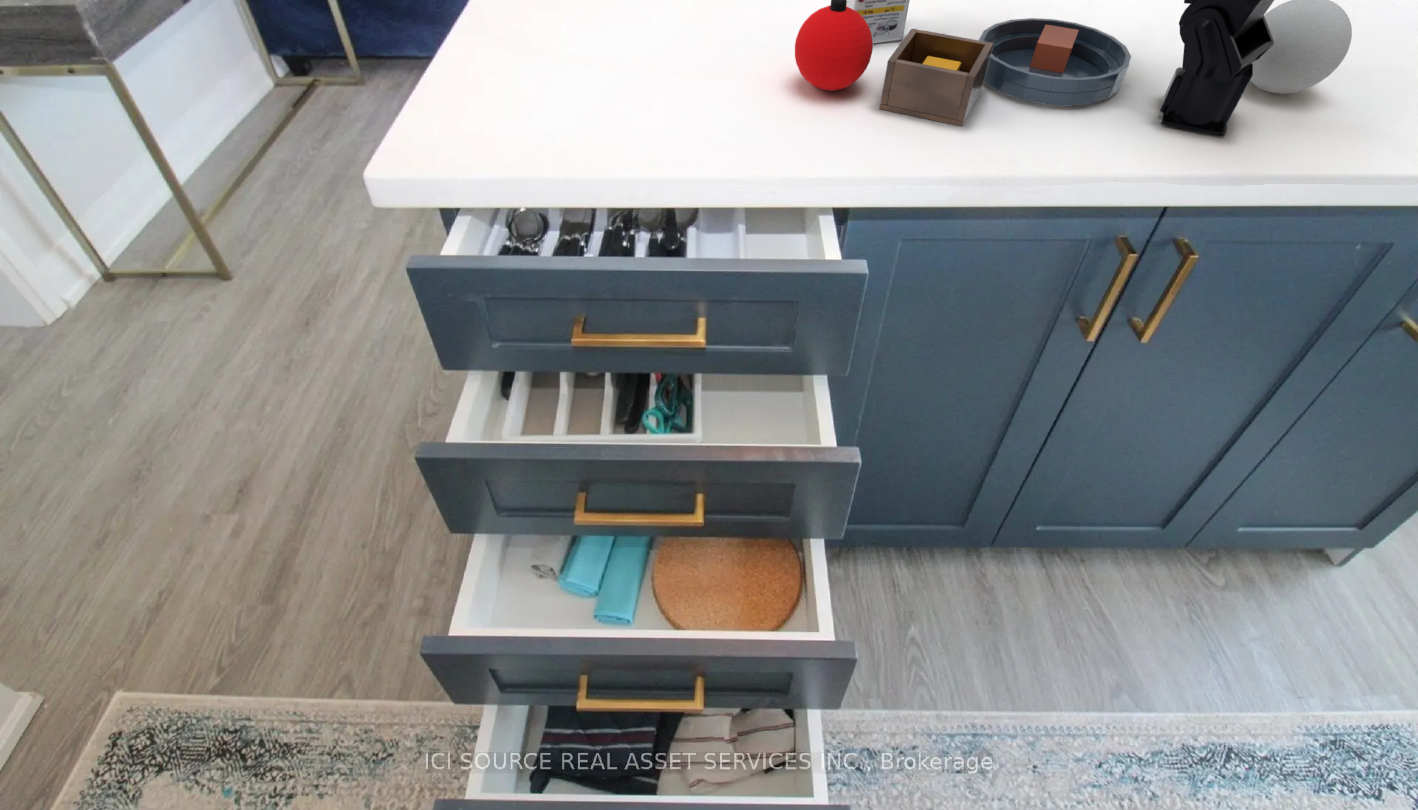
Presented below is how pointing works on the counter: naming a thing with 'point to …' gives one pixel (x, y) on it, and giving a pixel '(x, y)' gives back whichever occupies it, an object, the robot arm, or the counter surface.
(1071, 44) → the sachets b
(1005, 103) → the counter surface
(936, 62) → the yellow block
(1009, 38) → the bowl
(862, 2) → the container
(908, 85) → the holder
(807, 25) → the ornament
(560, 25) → the counter surface
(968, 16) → the counter surface
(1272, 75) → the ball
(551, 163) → the counter surface
